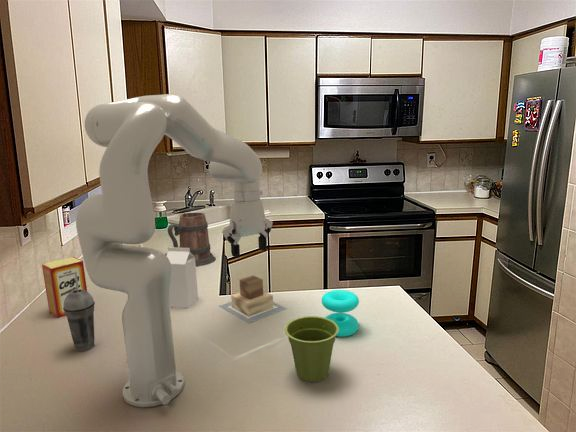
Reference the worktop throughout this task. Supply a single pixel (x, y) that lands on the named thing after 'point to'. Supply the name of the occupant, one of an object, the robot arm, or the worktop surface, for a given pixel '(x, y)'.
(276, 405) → the worktop surface
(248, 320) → the board
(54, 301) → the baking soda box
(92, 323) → the beverage cup
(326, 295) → the donuts
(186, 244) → the tankard
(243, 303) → the maple slab
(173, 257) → the milk carton
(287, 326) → the plant pot
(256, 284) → the walnut block
